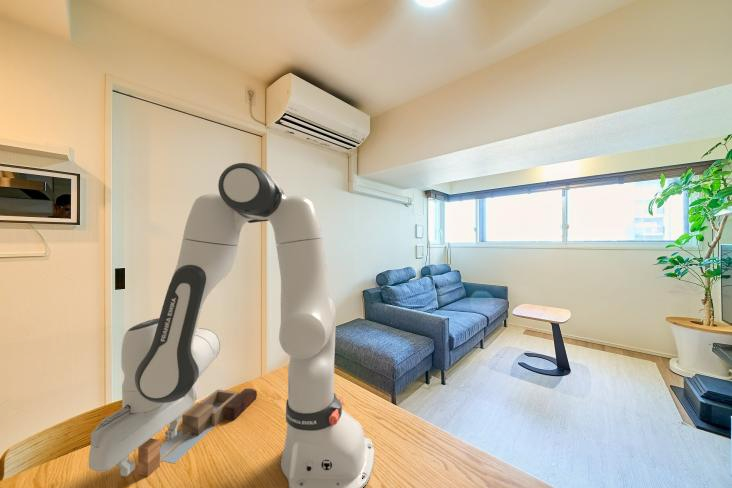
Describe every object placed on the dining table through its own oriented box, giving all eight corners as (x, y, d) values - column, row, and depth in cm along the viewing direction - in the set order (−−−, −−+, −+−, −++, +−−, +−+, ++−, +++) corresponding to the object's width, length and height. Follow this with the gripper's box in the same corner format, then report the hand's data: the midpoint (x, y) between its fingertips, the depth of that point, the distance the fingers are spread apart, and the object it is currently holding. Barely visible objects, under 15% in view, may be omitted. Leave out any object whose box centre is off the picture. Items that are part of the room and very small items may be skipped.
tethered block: (213, 422, 71) (213, 401, 71) (152, 477, 54) (152, 450, 54) (198, 420, 72) (198, 399, 72) (134, 473, 55) (133, 446, 55)
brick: (234, 424, 72) (234, 408, 72) (222, 422, 72) (222, 406, 72) (257, 401, 82) (257, 387, 82) (246, 400, 83) (246, 386, 83)
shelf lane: (239, 406, 79) (239, 392, 79) (174, 467, 58) (174, 448, 58) (217, 403, 81) (217, 389, 81) (146, 461, 59) (146, 443, 59)
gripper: (104, 428, 45) (106, 504, 45) (199, 370, 65) (200, 422, 65) (77, 424, 46) (79, 498, 46) (179, 368, 66) (180, 420, 66)
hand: (151, 453), depth 56 cm, fingers open, 8 cm apart
